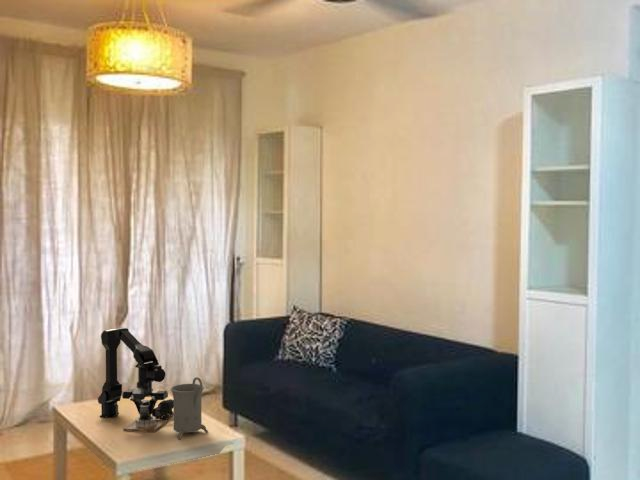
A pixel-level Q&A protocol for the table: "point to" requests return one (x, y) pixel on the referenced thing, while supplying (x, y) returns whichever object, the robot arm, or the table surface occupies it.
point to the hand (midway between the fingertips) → (145, 414)
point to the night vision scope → (164, 410)
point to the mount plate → (146, 429)
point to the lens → (145, 409)
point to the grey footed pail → (187, 407)
